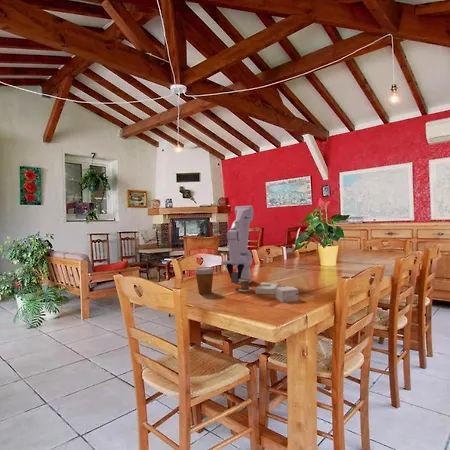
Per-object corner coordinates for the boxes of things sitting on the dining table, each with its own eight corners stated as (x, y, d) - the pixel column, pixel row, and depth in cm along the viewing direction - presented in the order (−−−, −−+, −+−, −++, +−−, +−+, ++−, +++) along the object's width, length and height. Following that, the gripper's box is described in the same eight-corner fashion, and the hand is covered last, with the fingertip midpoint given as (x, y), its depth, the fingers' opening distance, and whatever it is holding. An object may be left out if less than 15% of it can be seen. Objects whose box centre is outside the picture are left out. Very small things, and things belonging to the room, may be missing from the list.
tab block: (233, 281, 174) (233, 271, 174) (240, 281, 173) (239, 272, 173) (231, 282, 171) (231, 273, 170) (237, 283, 169) (237, 273, 169)
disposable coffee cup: (217, 290, 167) (216, 267, 166) (211, 295, 157) (210, 270, 157) (199, 290, 169) (198, 267, 169) (192, 294, 160) (191, 269, 160)
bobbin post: (240, 288, 171) (239, 277, 171) (253, 288, 168) (253, 277, 168) (236, 291, 164) (236, 280, 164) (250, 291, 162) (249, 280, 162)
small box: (282, 302, 140) (281, 290, 140) (275, 298, 148) (274, 287, 147) (299, 300, 142) (298, 289, 142) (291, 296, 149) (290, 285, 149)
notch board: (262, 286, 173) (262, 282, 172) (279, 287, 170) (279, 282, 170) (255, 293, 157) (255, 288, 157) (274, 294, 154) (274, 289, 154)
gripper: (218, 253, 170) (220, 279, 170) (246, 253, 165) (247, 280, 166) (223, 252, 177) (224, 277, 177) (249, 252, 172) (250, 277, 173)
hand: (235, 278), depth 172 cm, fingers closed on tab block, 3 cm apart
